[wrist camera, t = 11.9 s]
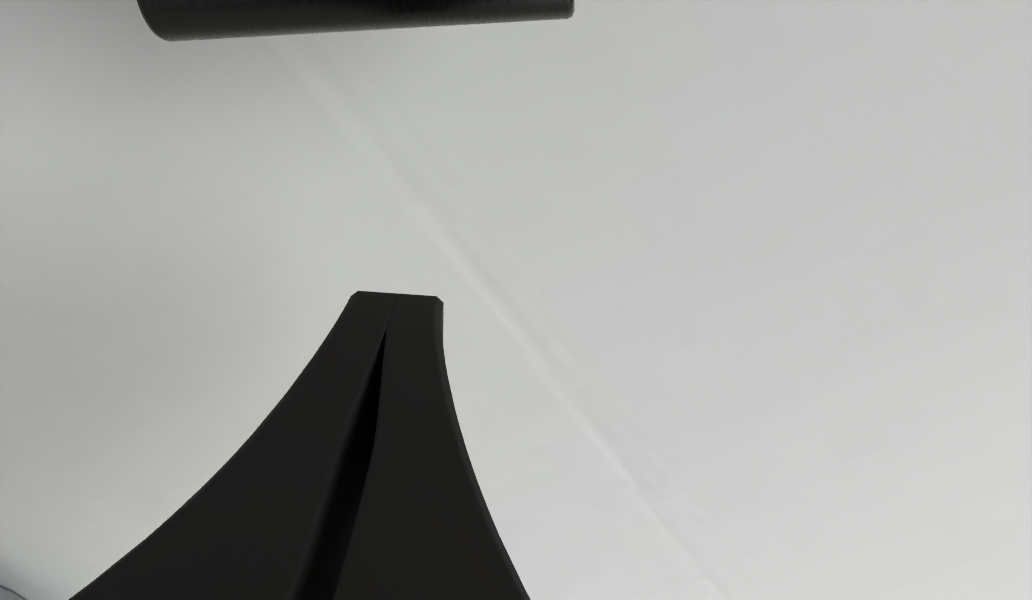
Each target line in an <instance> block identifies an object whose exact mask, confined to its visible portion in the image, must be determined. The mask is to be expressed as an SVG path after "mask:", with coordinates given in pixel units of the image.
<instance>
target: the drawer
mask: <svg viewBox="0 0 1032 600" xmlns="http://www.w3.org/2000/svg"><path fill="white" fill-rule="evenodd" d="M137 2H138V5H139V8H140V11H141V13H142V15H143V17H144V19H145V21H146V23H147V25H148V26H149V28H150V29H151V30H152V31H153V33H154V34H155V35H157V36H158V37H159V38H161V39H164V40H167V41H187V40H205V39H222V38H239V37H257V36H274V35H292V34H309V33H327V32H344V31H362V30H379V29H397V28H414V27H432V26H449V25H467V24H484V23H502V22H519V21H537V20H554V19H568V18H570V17H572V16H573V13H574V0H137Z"/></svg>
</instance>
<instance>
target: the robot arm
mask: <svg viewBox="0 0 1032 600" xmlns="http://www.w3.org/2000/svg"><path fill="white" fill-rule="evenodd" d="M69 600H530V598H529V596H528V594H527V592H526V590H525V588H524V586H523V584H522V582H521V580H520V578H519V576H518V574H517V572H516V570H515V568H514V565H513V563H512V561H511V559H510V557H509V555H508V553H507V551H506V549H505V547H504V545H503V543H502V540H501V538H500V536H499V534H498V532H497V529H496V527H495V524H494V522H493V520H492V517H491V515H490V512H489V510H488V508H487V505H486V503H485V500H484V497H483V495H482V492H481V490H480V487H479V484H478V482H477V479H476V476H475V473H474V470H473V468H472V465H471V462H470V459H469V456H468V453H467V449H466V446H465V443H464V439H463V436H462V433H461V430H460V426H459V422H458V419H457V415H456V411H455V407H454V403H453V398H452V394H451V389H450V385H449V380H448V375H447V370H446V364H445V357H444V350H443V302H442V301H441V300H440V299H439V298H438V297H437V296H424V295H410V294H395V293H381V292H366V291H357V292H356V293H355V294H353V295H352V296H351V297H350V299H349V301H348V303H347V304H346V306H345V308H344V310H343V311H342V313H341V315H340V316H339V318H338V320H337V321H336V323H335V325H334V326H333V328H332V329H331V331H330V332H329V334H328V336H327V337H326V339H325V340H324V342H323V343H322V345H321V346H320V347H319V349H318V350H317V352H316V353H315V355H314V356H313V358H312V359H311V360H310V362H309V363H308V364H307V366H306V367H305V369H304V370H303V371H302V373H301V374H300V375H299V377H298V378H297V379H296V381H295V382H294V384H293V385H292V386H291V388H290V389H289V390H288V392H287V393H286V394H285V395H284V397H283V398H282V399H281V400H280V402H279V403H278V404H277V405H276V406H275V408H274V409H273V410H272V411H271V412H270V414H269V415H268V416H267V417H266V418H265V420H264V421H263V422H262V423H261V424H260V426H259V427H258V428H257V429H256V430H255V432H254V433H253V434H252V435H251V436H250V437H249V439H248V440H247V441H246V442H245V443H244V444H243V445H242V446H241V447H240V449H239V450H238V451H237V452H236V453H235V454H234V455H233V456H232V457H231V458H230V459H229V460H228V461H227V462H226V464H225V465H224V466H223V467H222V468H221V469H220V470H219V471H218V472H217V473H216V474H215V475H214V476H213V477H212V478H211V479H210V480H209V481H208V482H207V483H206V484H205V485H204V486H203V487H202V488H201V489H200V490H199V491H198V492H196V493H195V494H194V495H193V496H192V497H191V498H190V499H189V500H188V501H187V502H186V503H185V504H184V505H183V506H182V507H181V508H179V509H178V510H177V511H176V512H175V513H174V514H173V515H172V516H171V517H170V518H169V519H168V520H166V521H165V522H164V523H163V524H162V525H161V526H160V527H159V528H157V529H156V530H155V531H154V532H153V533H152V534H151V535H149V536H148V537H147V538H146V539H145V540H143V541H142V542H141V543H140V544H138V545H137V546H136V547H135V548H134V549H132V550H131V551H130V552H129V553H127V554H126V555H125V556H124V557H122V558H121V559H120V560H119V561H117V562H116V563H115V564H114V565H112V566H111V567H110V568H109V569H108V570H106V571H105V572H104V573H103V574H101V575H100V576H99V577H98V578H96V579H95V580H94V581H93V582H91V583H90V584H89V585H87V586H86V587H85V588H83V589H82V590H81V591H80V592H78V593H77V594H76V595H74V596H73V597H71V598H70V599H69Z"/></svg>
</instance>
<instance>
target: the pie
mask: <svg viewBox="0 0 1032 600" xmlns="http://www.w3.org/2000/svg"><path fill="white" fill-rule="evenodd" d="M0 600H24V599H22V598H21V597H19V596H18V595H16V594H15V593H13V592H11V591H9V590H7V589H4V588H2V587H0Z"/></svg>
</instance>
